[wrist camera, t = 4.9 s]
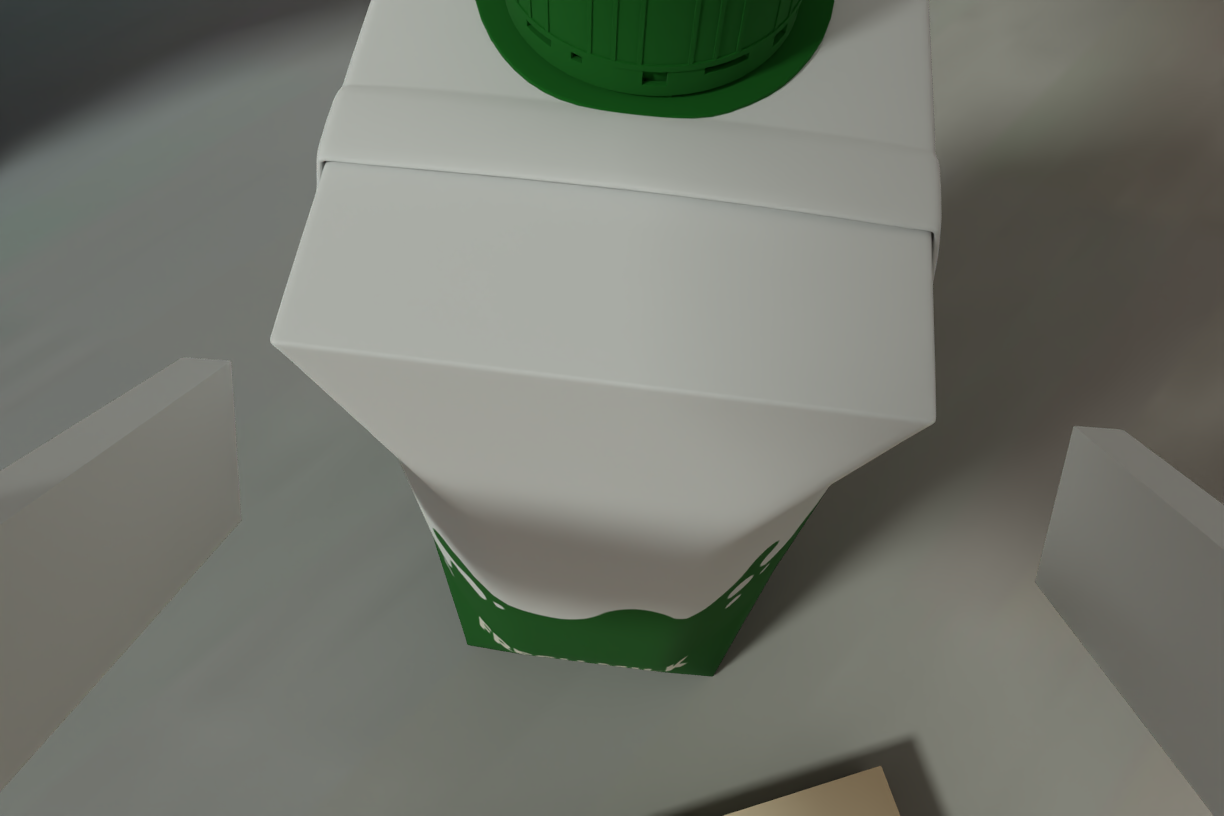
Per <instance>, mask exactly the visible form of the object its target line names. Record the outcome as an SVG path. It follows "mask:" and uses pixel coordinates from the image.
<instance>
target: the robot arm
mask: <svg viewBox="0 0 1224 816" xmlns="http://www.w3.org/2000/svg"><path fill="white" fill-rule="evenodd" d="M241 521H242V520H241V504H240V488H239V472H238V457H237V441H236V425H235V409H234V393H233V378H232V362H231V361H227V360H214V359H201V358H188V357H182V358H180V359H179V360H177V361H175V362H174V363H172V364H171V365H169V366H167V367H166V368H164V369H163V370H161V371H159V372H158V373H156V374H155V375H153V376H151V377H150V378H148V379H147V380H145V381H143V382H142V383H140V384H139V385H137V386H135V387H134V388H132V389H131V390H129V391H127V392H126V393H124V394H123V395H121V396H119V397H118V398H116V399H115V400H113V401H111V402H110V403H108V404H107V405H105V406H103V407H102V408H100V409H99V410H97V411H95V412H94V413H92V414H91V415H89V416H87V417H86V418H84V419H83V420H81V421H79V422H78V423H76V424H75V425H73V426H71V427H70V428H68V429H67V430H65V431H63V432H62V433H60V434H59V435H57V436H55V437H54V438H52V439H51V440H49V441H47V442H46V443H44V444H43V445H41V446H39V447H38V448H36V449H35V450H33V451H31V452H30V453H28V454H27V455H25V456H23V457H22V458H20V459H19V460H17V461H15V462H14V463H12V464H11V465H9V466H7V467H6V468H4V469H3V470H1V471H0V792H1V790H2V789H3V788H4V787H5V786H6V785H7V784H8V783H9V781H10V780H11V779H12V778H13V777H14V776H15V775H16V774H17V772H18V771H19V770H20V769H21V768H22V767H23V766H24V765H25V763H26V762H27V761H28V760H29V759H30V758H31V757H32V756H33V754H34V753H35V752H36V751H37V750H38V749H39V748H40V747H41V745H42V744H43V743H44V742H45V741H46V740H47V739H48V738H49V736H50V735H51V734H52V733H53V732H54V731H55V730H56V729H57V727H58V726H59V725H60V724H61V723H62V722H63V721H64V720H65V718H66V717H67V716H68V715H69V714H70V713H71V712H72V711H73V709H74V708H75V707H76V706H77V705H78V704H79V703H80V702H81V700H82V699H83V698H84V697H85V696H86V695H87V694H88V693H89V691H90V690H91V689H92V688H93V687H94V686H95V685H96V684H97V682H98V681H99V680H100V679H101V678H102V677H103V676H104V675H105V673H106V672H107V671H108V670H109V669H110V668H111V667H112V666H113V664H114V663H115V662H116V661H117V660H118V659H119V658H120V657H121V655H122V654H123V653H124V652H125V651H126V650H127V649H128V648H129V646H130V645H131V644H132V643H133V642H134V641H135V640H136V639H137V637H138V636H139V635H140V634H141V633H142V632H143V631H144V630H145V628H146V627H147V626H148V625H149V624H150V623H151V622H152V621H153V619H154V618H155V617H156V616H157V615H158V614H159V613H160V612H161V610H162V609H163V608H164V607H165V606H166V605H167V604H168V603H169V601H170V600H171V599H172V598H173V597H174V596H175V595H176V594H177V592H178V591H179V590H180V589H181V588H182V587H183V586H184V585H185V583H186V582H187V581H188V580H189V579H190V578H191V577H192V576H193V574H194V573H195V572H196V571H197V570H198V569H199V568H200V567H201V566H202V564H203V563H204V562H205V561H206V560H207V559H208V558H209V557H210V555H211V554H212V553H213V552H214V551H215V550H216V549H217V548H218V546H219V545H220V544H221V543H222V542H223V541H224V540H225V539H226V537H227V536H228V535H229V534H230V533H231V532H232V531H233V530H234V528H235V527H236V526H237V525H238V524H239V523H240V522H241ZM1035 583H1036V584H1037V585H1038V587H1039V588H1040V589H1041V591H1042V592H1043V593H1044V595H1045V596H1046V597H1047V599H1048V600H1049V601H1050V602H1051V604H1052V605H1053V606H1054V608H1055V609H1056V610H1057V612H1058V613H1059V614H1060V615H1061V617H1062V618H1063V619H1064V621H1065V622H1066V623H1067V625H1068V626H1069V627H1070V629H1071V630H1072V631H1073V632H1074V634H1075V635H1076V636H1077V638H1078V639H1079V640H1080V642H1081V643H1082V644H1083V645H1084V647H1085V648H1086V649H1087V651H1088V652H1089V653H1090V655H1091V656H1092V657H1093V659H1094V660H1095V661H1096V662H1097V664H1098V665H1099V666H1100V668H1101V669H1102V670H1103V672H1104V673H1105V674H1106V676H1107V677H1108V678H1109V679H1110V681H1111V682H1112V683H1113V685H1114V686H1115V687H1116V689H1117V690H1118V691H1119V692H1120V694H1121V695H1122V696H1123V698H1124V699H1125V700H1126V702H1127V703H1128V704H1129V706H1130V707H1131V708H1132V709H1133V711H1134V712H1135V713H1136V715H1137V716H1138V717H1139V719H1140V720H1141V721H1142V723H1143V724H1144V725H1145V726H1146V728H1147V729H1148V730H1149V732H1150V733H1151V734H1152V736H1153V737H1154V738H1155V739H1156V741H1157V742H1158V743H1159V745H1160V746H1161V747H1162V749H1163V750H1164V751H1165V753H1166V754H1167V755H1168V756H1169V758H1170V759H1171V760H1172V762H1173V763H1174V764H1175V766H1176V767H1177V768H1178V769H1179V771H1180V772H1181V773H1182V775H1183V776H1184V777H1185V779H1186V780H1187V781H1188V783H1189V784H1190V785H1191V786H1192V788H1193V789H1194V790H1195V792H1196V793H1197V794H1198V796H1199V797H1200V798H1201V800H1202V801H1203V802H1204V803H1205V805H1206V806H1207V807H1208V809H1209V810H1210V811H1211V813H1212V814H1213V815H1214V816H1224V505H1223V504H1222V503H1220V502H1219V501H1218V500H1216V499H1215V498H1214V497H1212V496H1211V495H1210V494H1208V493H1207V492H1206V491H1204V490H1203V489H1202V488H1200V487H1199V486H1198V485H1196V484H1195V483H1194V482H1192V481H1191V480H1190V479H1188V478H1187V477H1186V476H1184V475H1183V474H1182V473H1180V472H1179V471H1178V470H1176V469H1175V468H1174V467H1172V466H1171V465H1170V464H1168V463H1167V462H1166V461H1164V460H1163V459H1162V458H1160V457H1159V456H1158V455H1156V454H1155V453H1154V452H1152V451H1151V450H1150V449H1148V448H1147V447H1146V446H1144V445H1143V444H1142V443H1140V442H1139V441H1138V440H1136V439H1135V438H1134V437H1132V436H1131V435H1130V434H1128V433H1127V432H1126V431H1124V430H1122V429H1109V428H1096V427H1083V426H1073V430H1072V434H1071V438H1070V442H1069V447H1068V451H1067V455H1066V459H1065V463H1064V467H1063V471H1062V475H1061V479H1060V483H1059V487H1058V491H1057V495H1056V499H1055V503H1054V507H1053V511H1052V515H1051V519H1050V523H1049V528H1048V532H1047V536H1046V540H1045V544H1044V548H1043V552H1042V556H1041V560H1040V564H1039V568H1038V572H1037V576H1036V580H1035Z"/></svg>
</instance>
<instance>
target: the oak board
mask: <svg viewBox="0 0 1224 816" xmlns="http://www.w3.org/2000/svg"><path fill="white" fill-rule="evenodd" d="M724 816H900V814H899V811H898V808H897V806H896V803H895V801H894V798H893V795H892V793H891V790H890V787H889V785H888V782H887V780H886V777H885V774H884V772H883V769H882V767H881V766H878V767H875V768H872V769H868V770H865V771H862V772H859V773H856V774H853V775H850V776H846V777H843V778H840V779H837V780H834V781H831V782H828V783H824V784H821V785H818V786H815V787H812V788H809V789H806V790H802V791H799V792H796V793H793V794H790V795H787V796H784V797H780V798H777V799H774V800H771V801H768V802H765V803H762V804H758V805H755V806H752V807H749V808H746V809H743V810H740V811H736V812H733V813H730V814H727V815H724Z"/></svg>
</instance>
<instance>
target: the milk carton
mask: <svg viewBox="0 0 1224 816" xmlns="http://www.w3.org/2000/svg"><path fill="white" fill-rule="evenodd" d="M941 221H942V208H941V179H940V166H939V162H938V158H937V157H936V153H935V123H934V101H933V80H932V58H931V37H930V17H929V0H371V2H370V5H369V8H368V11H367V14H366V17H365V20H364V23H363V26H362V28H361V31H360V34H359V37H358V40H357V43H356V46H355V49H354V52H353V55H352V58H351V61H350V64H349V67H348V71H347V74H346V77H345V80H344V83H343V86H342V88H340V89H339V91H338V92H337V94H336V96H335V98H334V100H333V103H332V106H331V109H330V112H329V115H328V117H327V120H326V123H325V127H324V130H323V133H322V137H321V140H320V143H319V146H318V152H317V191H316V194H315V197H314V200H313V203H312V207H311V210H310V213H309V216H308V219H307V222H306V226H305V229H304V232H303V235H302V238H301V241H300V244H299V248H298V251H297V254H296V257H295V260H294V263H293V267H292V270H291V273H290V276H289V279H288V282H287V285H286V289H285V292H284V295H283V298H282V301H281V304H280V308H279V311H278V314H277V318H276V321H275V324H274V328H273V331H272V334H271V338H270V342H271V343H272V345H273V346H275V347H276V348H277V349H278V350H279V351H281V352H282V353H283V354H284V355H285V356H286V357H288V358H289V359H290V360H291V361H292V362H293V363H294V364H295V365H297V366H298V367H299V368H300V369H301V370H302V371H303V372H304V373H305V374H306V375H307V376H309V377H310V378H311V379H312V380H313V381H314V382H315V383H316V384H317V385H318V386H320V387H321V388H322V389H323V390H324V391H325V392H326V393H327V394H328V395H329V396H330V397H332V398H333V399H334V400H335V401H336V402H337V403H338V404H339V405H340V406H341V407H343V408H344V409H345V410H346V411H347V412H348V413H349V414H350V415H351V416H352V417H353V418H355V419H356V420H357V421H358V422H359V423H360V424H361V425H362V426H363V427H364V428H366V429H367V430H368V431H369V432H370V433H371V434H372V435H373V436H374V437H375V438H376V439H378V440H379V441H380V442H381V443H382V444H383V445H384V446H385V447H386V448H387V449H388V450H389V451H391V452H392V453H393V454H394V455H395V456H396V457H397V458H398V460H399V462H400V464H401V466H402V469H403V471H404V473H405V475H406V477H407V480H408V482H409V484H410V486H411V488H412V491H413V493H414V495H415V497H416V500H417V502H418V504H419V506H420V508H421V511H422V513H423V515H424V517H425V520H426V522H427V524H428V526H429V528H430V531H431V533H432V535H433V538H434V541H435V544H436V548H437V551H438V554H439V557H440V560H441V563H442V566H443V569H444V572H445V575H446V578H447V582H448V585H449V588H450V591H451V594H452V597H453V600H454V603H455V606H456V609H457V613H458V616H459V619H460V622H461V625H462V628H463V631H464V634H465V637H466V641H467V644H468V645H471V646H477V647H483V648H488V649H494V650H500V651H506V652H512V653H518V654H525V655H533V656H541V657H548V658H556V659H564V660H572V661H579V662H587V663H595V664H603V665H610V666H618V667H626V668H634V669H642V670H650V671H658V672H669V673H679V674H691V675H702V676H714V674H715V672H716V670H717V668H718V667H719V665H720V663H721V661H722V660H723V658H724V656H725V654H726V652H727V651H728V649H729V647H730V645H731V644H732V642H733V640H734V638H735V637H736V635H737V633H738V631H739V630H740V628H741V626H742V624H743V623H744V621H745V619H746V617H747V616H748V614H749V612H750V611H751V609H752V607H753V605H754V604H755V602H756V600H757V599H758V597H759V595H760V593H761V592H762V590H763V588H764V586H765V585H766V583H767V581H768V579H769V578H770V576H771V574H772V572H773V571H774V569H775V567H776V566H777V564H778V563H779V561H780V560H781V559H782V557H783V556H784V554H785V553H786V551H787V550H788V548H789V547H790V545H791V544H792V542H793V541H794V539H795V538H796V536H797V535H798V533H799V532H800V530H801V529H802V527H803V525H804V524H805V522H806V521H807V519H808V518H809V516H810V515H811V513H812V512H813V510H814V509H815V507H816V506H817V504H818V503H819V501H820V500H821V498H822V497H823V495H824V494H825V492H826V491H827V489H828V488H829V486H830V485H831V484H833V483H835V482H836V481H838V480H840V479H841V478H843V477H845V476H846V475H848V474H850V473H851V472H853V471H855V470H856V469H858V468H860V467H861V466H863V465H865V464H866V463H868V462H870V461H871V460H873V459H875V458H876V457H878V456H880V455H881V454H883V453H885V452H886V451H888V450H890V449H891V448H893V447H895V446H896V445H898V444H900V443H901V442H903V441H905V440H906V439H908V438H910V437H911V436H913V435H915V434H916V433H918V432H920V431H922V430H923V429H925V428H927V427H928V426H930V425H932V424H934V423H935V421H936V379H935V344H934V309H933V281H934V276H935V270H936V265H937V260H938V254H939V245H940V233H941Z"/></svg>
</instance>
